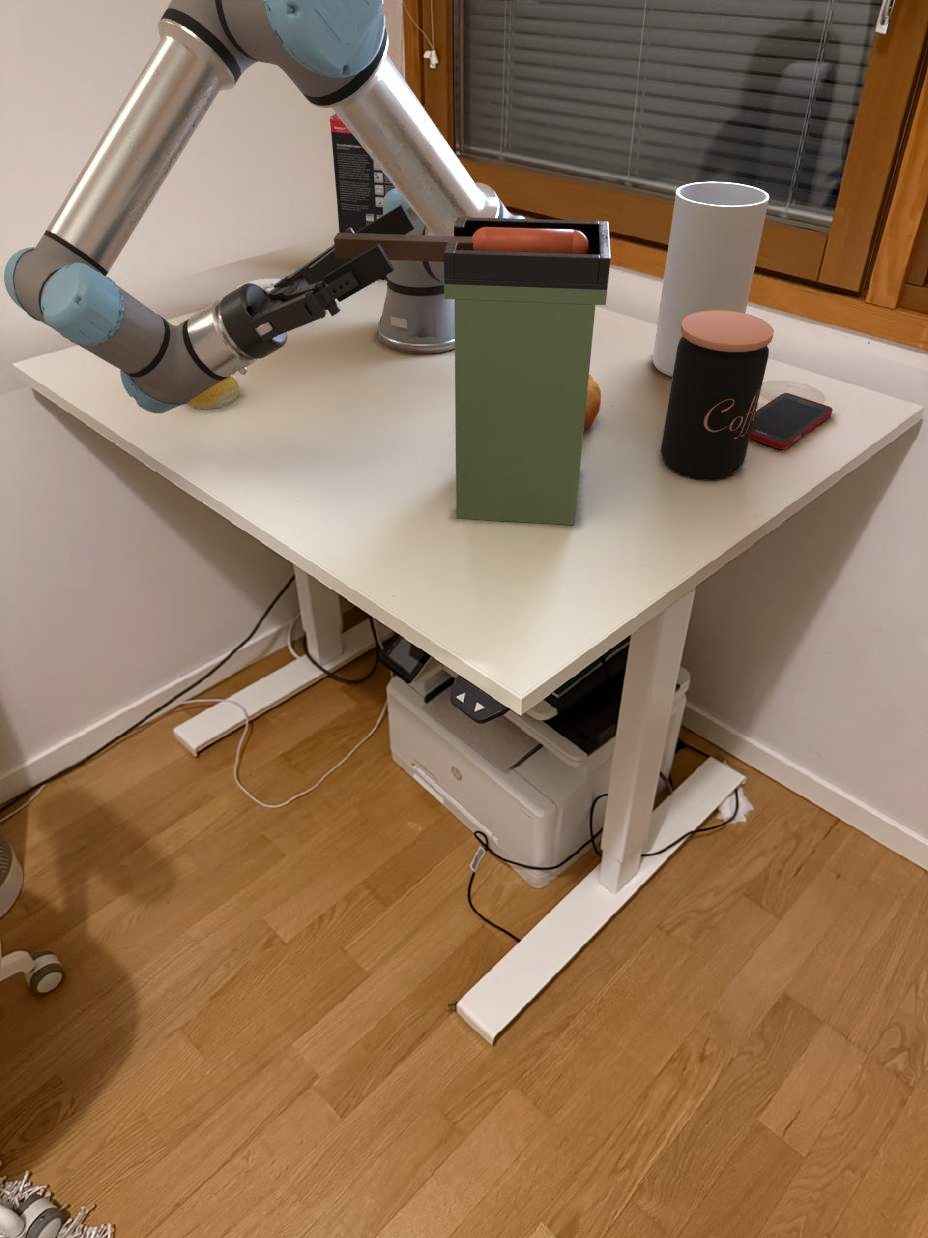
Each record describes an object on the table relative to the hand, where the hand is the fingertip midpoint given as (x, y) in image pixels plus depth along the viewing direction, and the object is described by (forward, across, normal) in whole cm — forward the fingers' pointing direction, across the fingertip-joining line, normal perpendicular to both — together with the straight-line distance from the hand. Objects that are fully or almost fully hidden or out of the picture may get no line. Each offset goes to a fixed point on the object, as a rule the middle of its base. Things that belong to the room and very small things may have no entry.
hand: (398, 235), depth 90 cm
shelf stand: (-4, 0, -33) cm, 33 cm away
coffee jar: (+16, -11, -45) cm, 49 cm away
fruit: (+2, -20, -36) cm, 41 cm away
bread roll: (-44, -22, -10) cm, 50 cm away
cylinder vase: (+18, -41, -46) cm, 64 cm away
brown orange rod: (+4, 0, -5) cm, 7 cm away
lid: (-44, -55, -10) cm, 71 cm away
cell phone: (+27, -22, -51) cm, 62 cm away
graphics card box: (-29, -77, -18) cm, 84 cm away
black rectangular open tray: (+10, 0, -9) cm, 14 cm away
